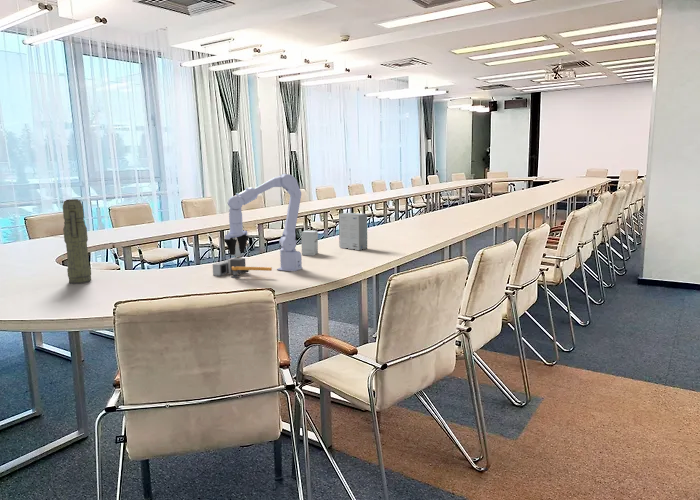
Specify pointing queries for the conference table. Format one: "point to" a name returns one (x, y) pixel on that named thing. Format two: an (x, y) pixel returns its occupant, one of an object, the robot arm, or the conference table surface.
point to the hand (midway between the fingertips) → (237, 253)
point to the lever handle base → (235, 274)
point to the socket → (220, 268)
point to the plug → (236, 262)
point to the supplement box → (309, 242)
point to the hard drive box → (353, 231)
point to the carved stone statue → (76, 242)
